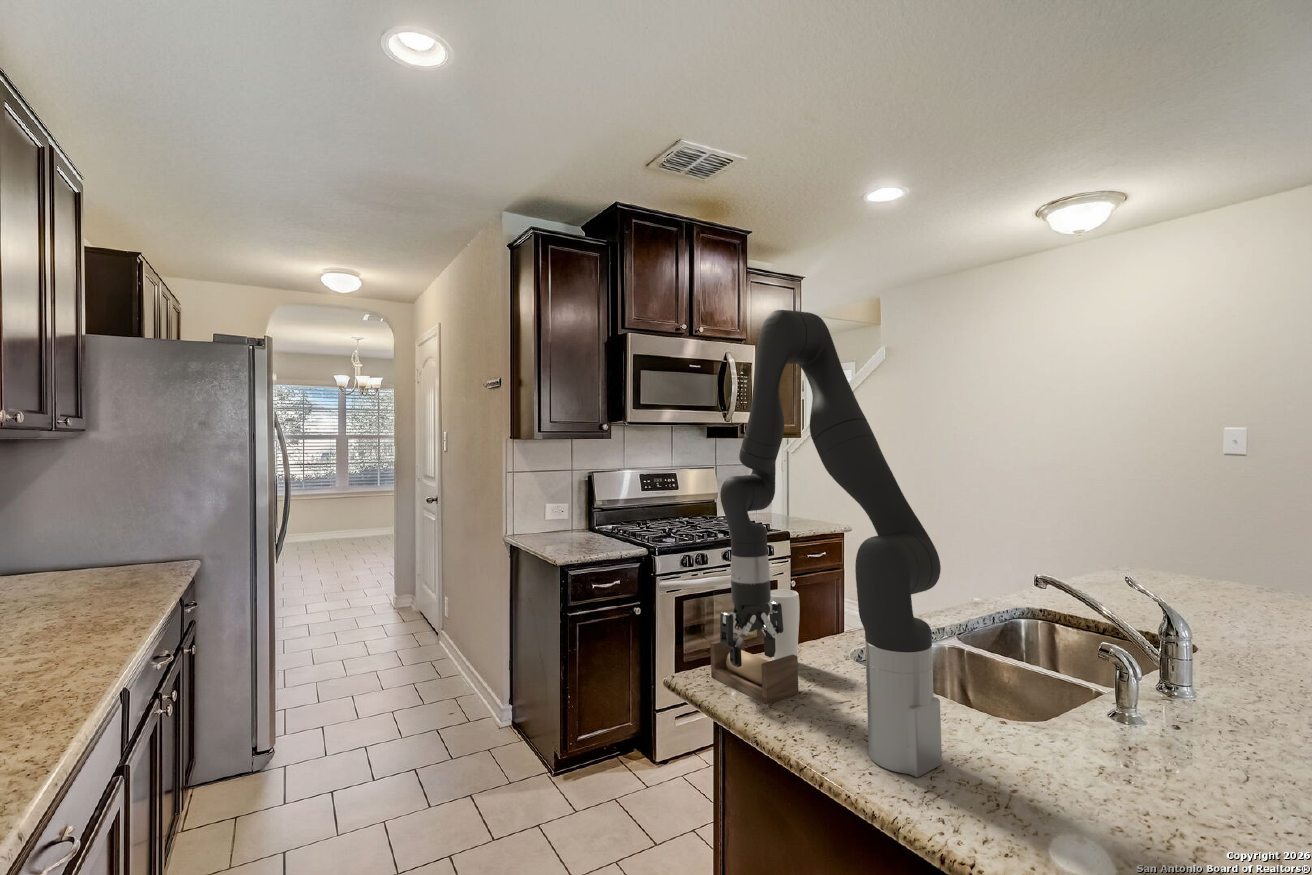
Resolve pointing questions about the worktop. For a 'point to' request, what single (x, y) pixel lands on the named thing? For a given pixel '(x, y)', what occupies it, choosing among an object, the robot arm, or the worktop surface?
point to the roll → (748, 667)
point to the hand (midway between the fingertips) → (753, 660)
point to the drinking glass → (787, 622)
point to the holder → (775, 675)
